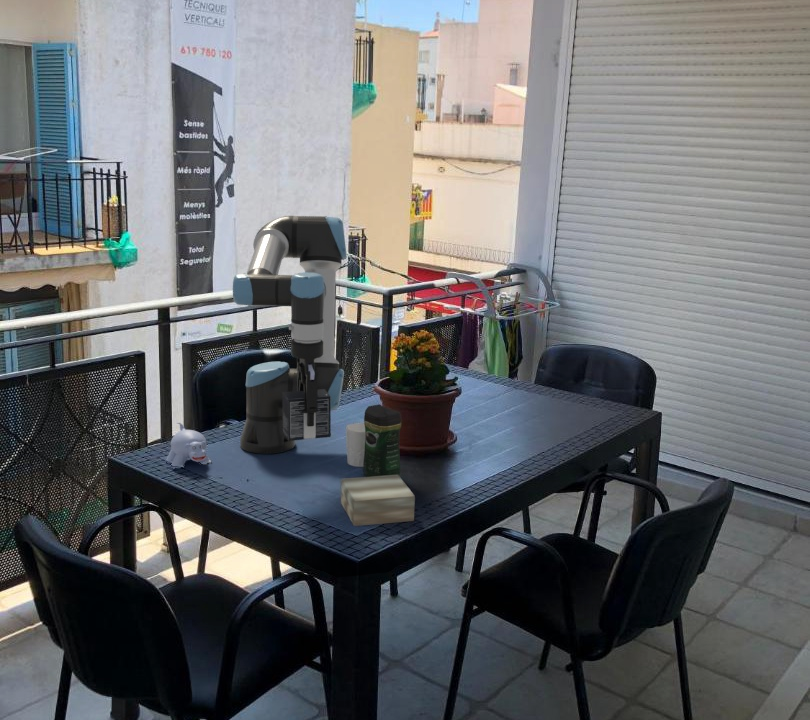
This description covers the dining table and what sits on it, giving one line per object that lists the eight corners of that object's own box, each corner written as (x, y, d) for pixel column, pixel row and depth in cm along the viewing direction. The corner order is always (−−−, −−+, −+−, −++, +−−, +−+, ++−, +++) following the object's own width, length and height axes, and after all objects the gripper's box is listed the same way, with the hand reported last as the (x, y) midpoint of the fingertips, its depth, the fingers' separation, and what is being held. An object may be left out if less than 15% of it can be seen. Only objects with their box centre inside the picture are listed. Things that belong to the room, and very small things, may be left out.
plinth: (340, 502, 221) (341, 478, 220) (397, 497, 225) (397, 474, 224) (354, 526, 208) (354, 500, 207) (413, 520, 212) (414, 496, 211)
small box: (324, 428, 227) (324, 387, 224) (331, 437, 221) (332, 395, 219) (281, 432, 224) (281, 390, 221) (287, 441, 218) (288, 399, 215)
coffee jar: (405, 478, 238) (407, 409, 234) (381, 485, 233) (382, 414, 229) (381, 468, 245) (383, 400, 241) (357, 474, 240) (359, 405, 236)
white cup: (378, 460, 251) (379, 424, 249) (369, 469, 244) (370, 433, 241) (350, 456, 253) (351, 421, 251) (341, 465, 246) (341, 429, 243)
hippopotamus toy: (180, 476, 235) (179, 441, 233) (161, 459, 247) (159, 424, 245) (220, 469, 241) (219, 434, 238) (199, 452, 253) (199, 419, 251)
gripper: (284, 331, 225) (284, 421, 230) (298, 349, 207) (298, 447, 212) (315, 330, 227) (314, 420, 232) (331, 348, 209) (330, 445, 214)
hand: (306, 433), depth 222 cm, fingers closed on small box, 6 cm apart
